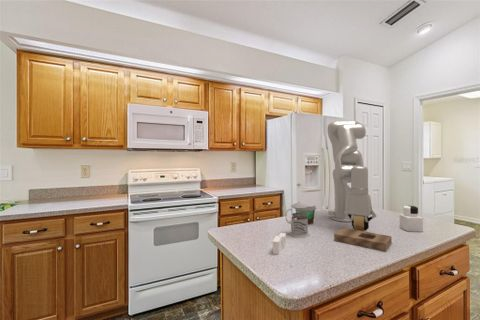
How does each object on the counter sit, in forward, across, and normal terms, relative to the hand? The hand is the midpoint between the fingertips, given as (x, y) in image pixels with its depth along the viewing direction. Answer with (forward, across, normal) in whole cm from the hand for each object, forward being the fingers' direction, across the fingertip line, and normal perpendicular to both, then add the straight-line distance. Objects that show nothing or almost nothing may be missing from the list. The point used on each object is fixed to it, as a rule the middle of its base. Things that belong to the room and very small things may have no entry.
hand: (360, 228), depth 115 cm
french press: (+3, -23, -20) cm, 31 cm away
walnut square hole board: (+2, +4, -12) cm, 13 cm away
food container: (+3, -29, 0) cm, 29 cm away
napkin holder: (+3, -19, -41) cm, 46 cm away
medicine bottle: (+3, +18, +22) cm, 29 cm away
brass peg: (+2, 0, 0) cm, 2 cm away
